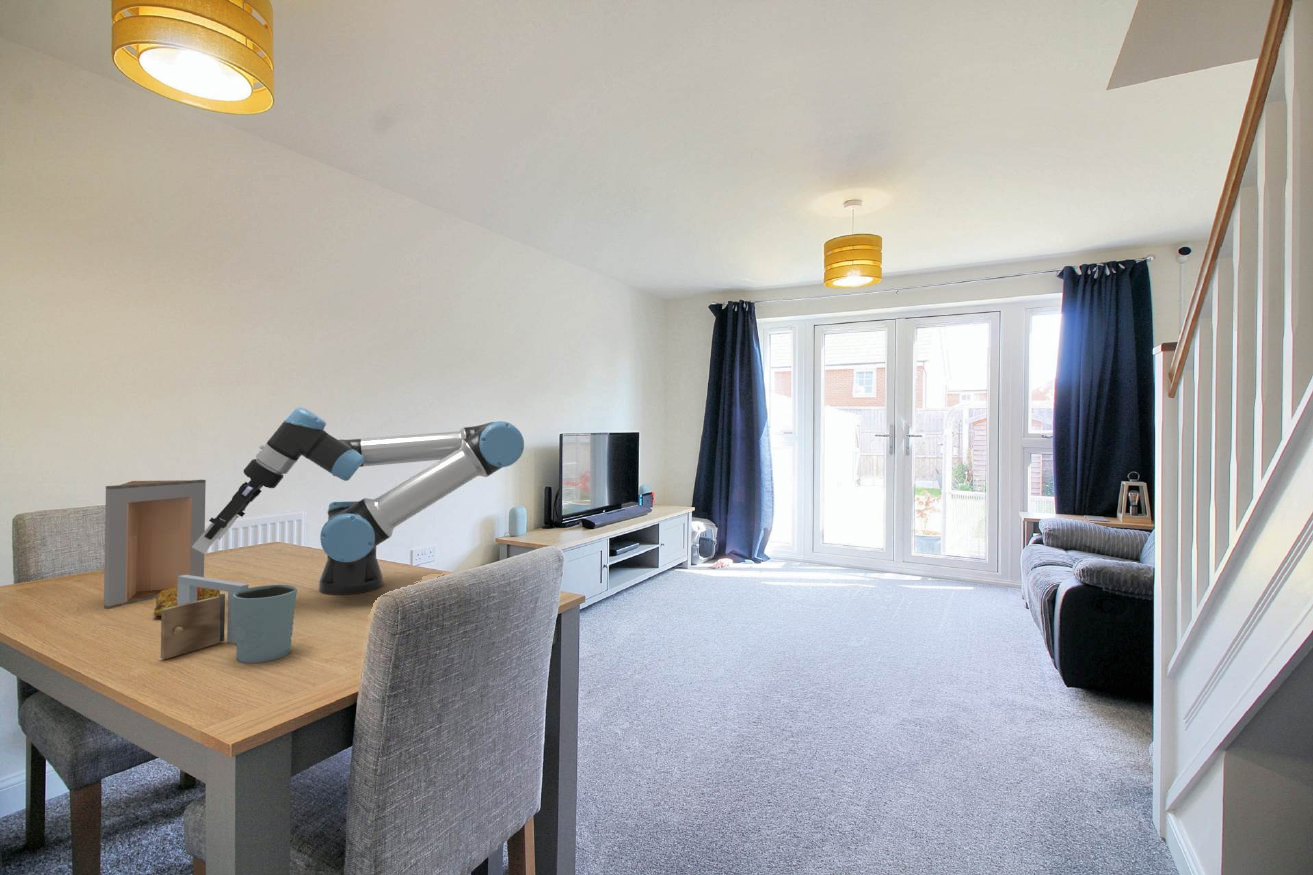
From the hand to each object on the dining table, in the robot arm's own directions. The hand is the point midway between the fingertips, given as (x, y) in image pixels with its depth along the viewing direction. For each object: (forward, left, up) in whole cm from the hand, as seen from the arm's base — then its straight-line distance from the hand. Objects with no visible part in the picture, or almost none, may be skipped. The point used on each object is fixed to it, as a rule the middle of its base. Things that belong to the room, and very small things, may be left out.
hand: (206, 543), depth 136 cm
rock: (+4, -1, -16) cm, 16 cm away
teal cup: (-19, +32, -16) cm, 40 cm away
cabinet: (+17, -19, -16) cm, 30 cm away
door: (-6, +27, -15) cm, 32 cm away
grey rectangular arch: (-7, +19, -16) cm, 26 cm away
